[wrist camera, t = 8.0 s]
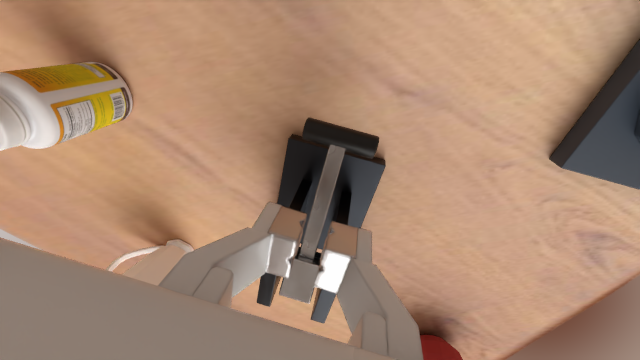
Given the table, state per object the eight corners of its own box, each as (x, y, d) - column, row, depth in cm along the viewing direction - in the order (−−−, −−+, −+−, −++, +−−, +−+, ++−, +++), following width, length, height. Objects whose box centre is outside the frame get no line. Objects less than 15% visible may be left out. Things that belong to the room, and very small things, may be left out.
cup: (208, 274, 37) (171, 329, 30) (143, 259, 38) (93, 310, 31) (202, 236, 34) (158, 289, 27) (131, 222, 35) (71, 269, 28)
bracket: (291, 133, 25) (236, 204, 15) (385, 159, 24) (394, 251, 14) (275, 228, 31) (227, 324, 21) (349, 250, 31) (337, 358, 20)
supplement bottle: (70, 70, 26) (-88, 91, 17) (112, 53, 24) (-38, 66, 15) (107, 125, 28) (-15, 169, 19) (147, 112, 26) (34, 153, 18)
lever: (309, 119, 19) (306, 114, 17) (376, 138, 19) (382, 135, 17) (268, 273, 21) (259, 289, 18) (330, 292, 20) (329, 310, 18)
